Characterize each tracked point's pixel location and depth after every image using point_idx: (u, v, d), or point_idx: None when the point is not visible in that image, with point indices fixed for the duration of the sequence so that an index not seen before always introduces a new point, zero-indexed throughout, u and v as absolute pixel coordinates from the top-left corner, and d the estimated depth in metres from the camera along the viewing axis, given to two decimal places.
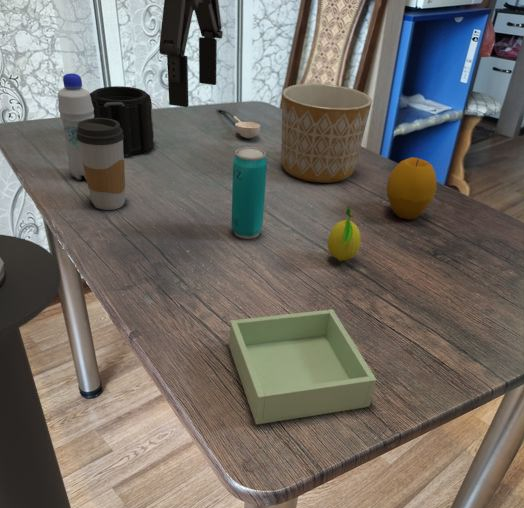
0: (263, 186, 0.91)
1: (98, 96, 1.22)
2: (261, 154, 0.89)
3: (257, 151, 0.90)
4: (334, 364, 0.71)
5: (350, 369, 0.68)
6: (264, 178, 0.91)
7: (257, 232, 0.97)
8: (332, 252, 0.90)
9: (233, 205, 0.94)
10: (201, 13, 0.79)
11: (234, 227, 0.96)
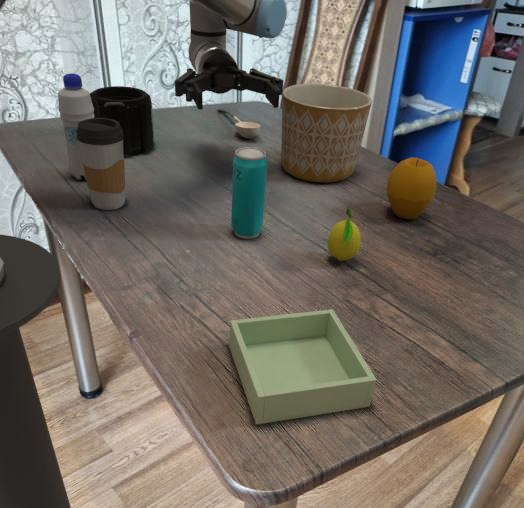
0: (263, 186, 0.91)
1: (98, 96, 1.22)
2: (261, 154, 0.89)
3: (257, 151, 0.90)
4: (334, 364, 0.71)
5: (350, 369, 0.68)
6: (264, 178, 0.91)
7: (257, 232, 0.97)
8: (332, 252, 0.90)
9: (233, 205, 0.94)
10: (204, 83, 0.98)
11: (234, 227, 0.96)
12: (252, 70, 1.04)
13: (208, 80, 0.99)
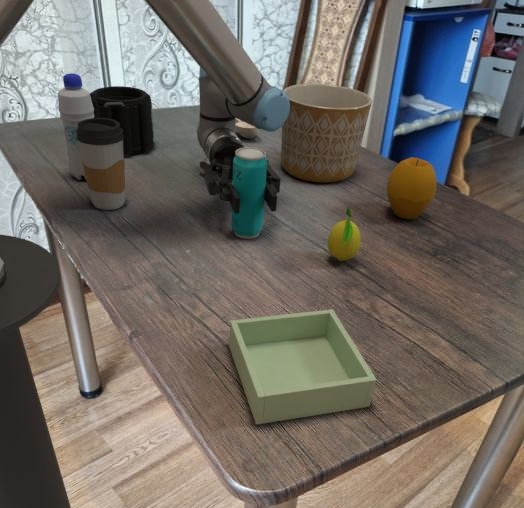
0: (263, 186, 0.91)
1: (98, 96, 1.22)
2: (261, 154, 0.89)
3: (257, 151, 0.90)
4: (334, 364, 0.71)
5: (350, 369, 0.68)
6: (264, 178, 0.91)
7: (257, 232, 0.97)
8: (332, 252, 0.90)
9: None
10: (228, 178, 0.97)
11: (234, 227, 0.96)
12: None
13: (229, 174, 0.98)
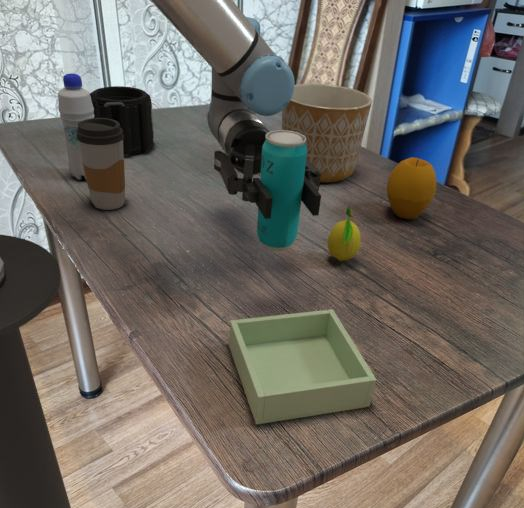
0: (301, 181, 0.69)
1: (98, 96, 1.22)
2: (300, 139, 0.66)
3: (294, 135, 0.67)
4: (334, 364, 0.71)
5: (350, 369, 0.68)
6: (303, 171, 0.68)
7: (291, 243, 0.74)
8: (332, 252, 0.90)
9: None
10: None
11: (261, 236, 0.73)
12: None
13: None
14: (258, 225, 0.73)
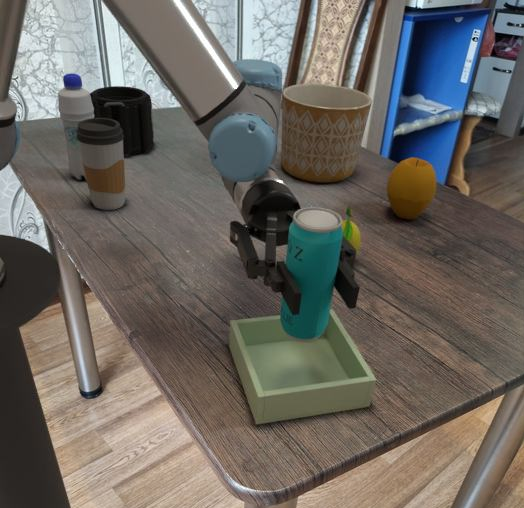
0: (335, 268, 0.58)
1: (98, 96, 1.22)
2: (335, 221, 0.55)
3: (328, 215, 0.56)
4: (334, 364, 0.71)
5: (350, 369, 0.68)
6: (338, 257, 0.57)
7: (321, 333, 0.63)
8: None
9: None
10: None
11: (285, 326, 0.62)
12: None
13: None
14: (282, 313, 0.62)
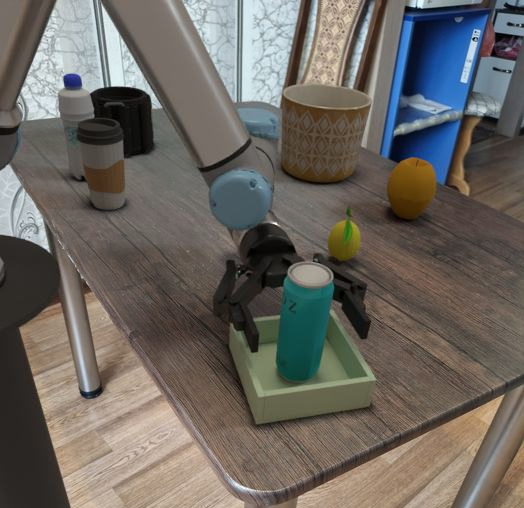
0: (327, 318, 0.62)
1: (98, 96, 1.22)
2: (327, 276, 0.59)
3: (320, 270, 0.60)
4: (334, 364, 0.71)
5: (350, 369, 0.68)
6: (329, 308, 0.61)
7: None
8: (332, 252, 0.90)
9: (281, 341, 0.64)
10: (253, 290, 0.68)
11: (280, 369, 0.66)
12: (317, 258, 0.73)
13: (258, 283, 0.69)
14: (277, 357, 0.66)
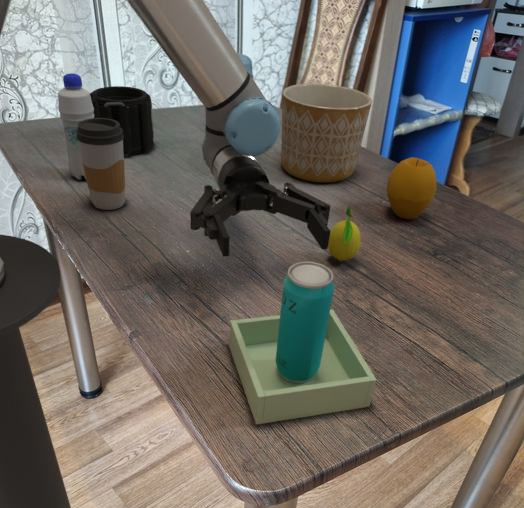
0: (327, 318, 0.62)
1: (98, 96, 1.22)
2: (326, 276, 0.59)
3: (320, 270, 0.60)
4: (334, 364, 0.71)
5: (350, 369, 0.68)
6: (329, 308, 0.61)
7: None
8: (332, 252, 0.90)
9: (281, 341, 0.64)
10: (227, 209, 0.75)
11: (280, 369, 0.66)
12: (287, 186, 0.81)
13: (233, 204, 0.76)
14: (277, 357, 0.66)
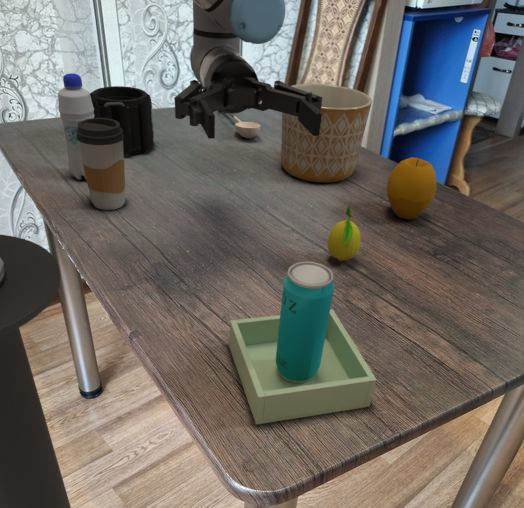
0: (327, 318, 0.62)
1: (98, 96, 1.22)
2: (326, 276, 0.59)
3: (320, 270, 0.60)
4: (334, 364, 0.71)
5: (350, 369, 0.68)
6: (329, 308, 0.61)
7: None
8: (332, 252, 0.90)
9: (281, 341, 0.64)
10: (214, 100, 0.72)
11: (280, 369, 0.66)
12: (278, 83, 0.77)
13: (220, 96, 0.73)
14: (277, 357, 0.66)
